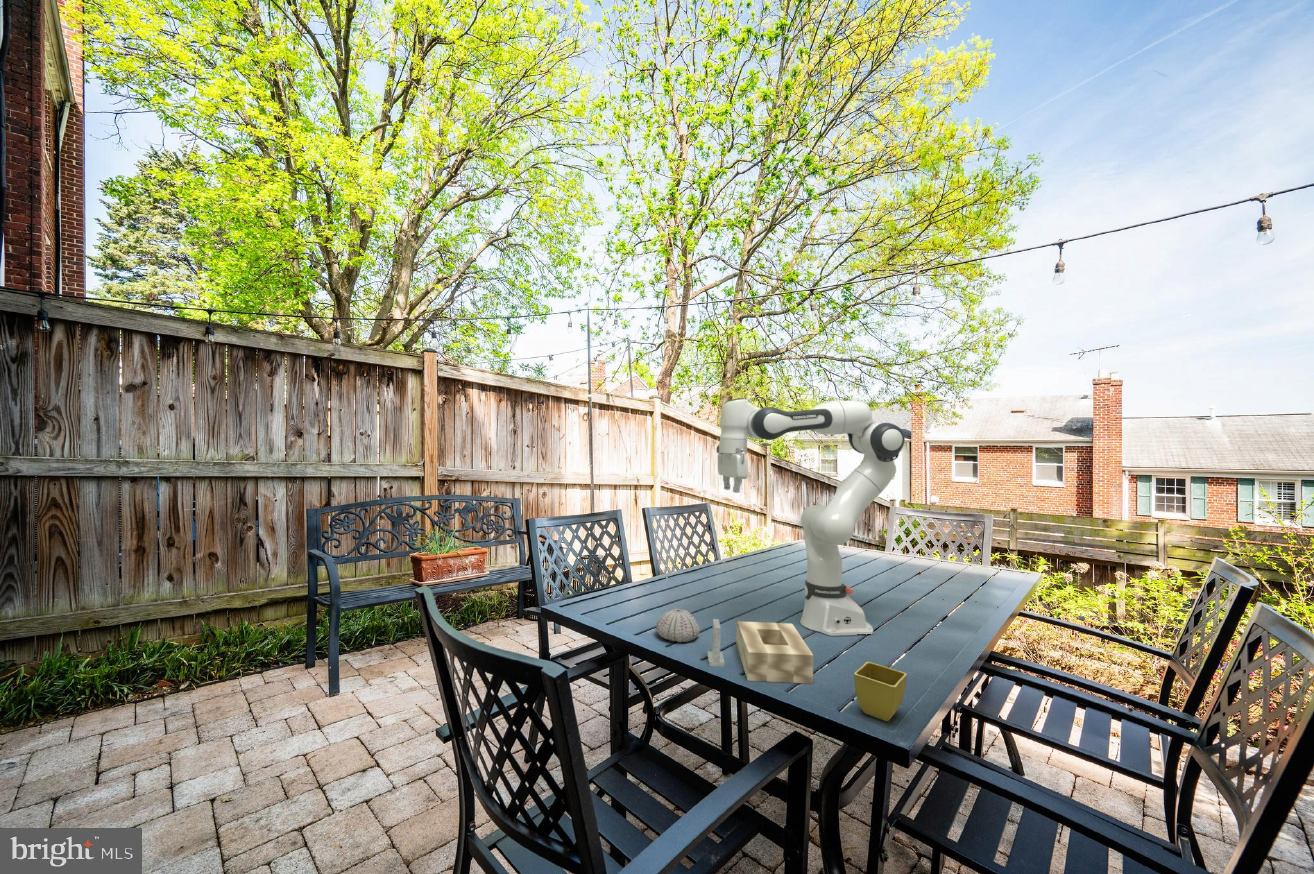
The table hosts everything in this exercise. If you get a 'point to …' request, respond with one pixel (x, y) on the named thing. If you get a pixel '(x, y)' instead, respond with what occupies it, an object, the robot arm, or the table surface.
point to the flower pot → (879, 690)
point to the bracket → (716, 646)
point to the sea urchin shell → (678, 626)
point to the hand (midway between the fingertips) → (731, 491)
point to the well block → (774, 653)
